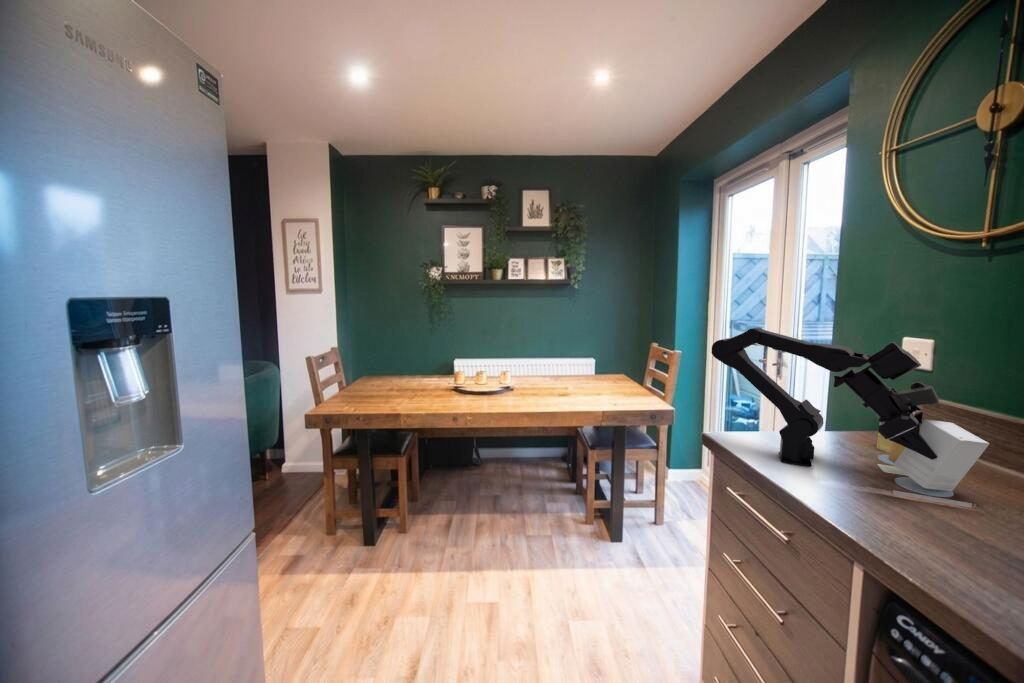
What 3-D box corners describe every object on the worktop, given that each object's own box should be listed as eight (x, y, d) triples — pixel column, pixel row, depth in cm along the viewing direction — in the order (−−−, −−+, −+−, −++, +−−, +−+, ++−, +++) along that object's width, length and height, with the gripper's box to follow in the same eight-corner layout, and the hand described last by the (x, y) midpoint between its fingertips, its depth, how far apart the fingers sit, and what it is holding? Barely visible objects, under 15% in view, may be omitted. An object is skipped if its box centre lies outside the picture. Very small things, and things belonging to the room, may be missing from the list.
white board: (893, 495, 86) (894, 489, 86) (859, 454, 108) (859, 449, 108) (972, 509, 81) (973, 502, 81) (919, 463, 102) (920, 458, 102)
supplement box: (953, 492, 85) (992, 444, 80) (923, 488, 84) (961, 440, 79) (919, 467, 91) (953, 422, 86) (890, 464, 90) (923, 418, 85)
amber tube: (892, 463, 99) (897, 415, 98) (884, 456, 104) (889, 410, 102) (920, 467, 97) (926, 418, 95) (911, 459, 101) (917, 412, 100)
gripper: (907, 377, 81) (983, 445, 74) (913, 365, 94) (978, 423, 87) (852, 406, 88) (917, 471, 81) (865, 392, 100) (921, 447, 94)
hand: (935, 452), depth 86 cm, fingers closed on supplement box, 9 cm apart
